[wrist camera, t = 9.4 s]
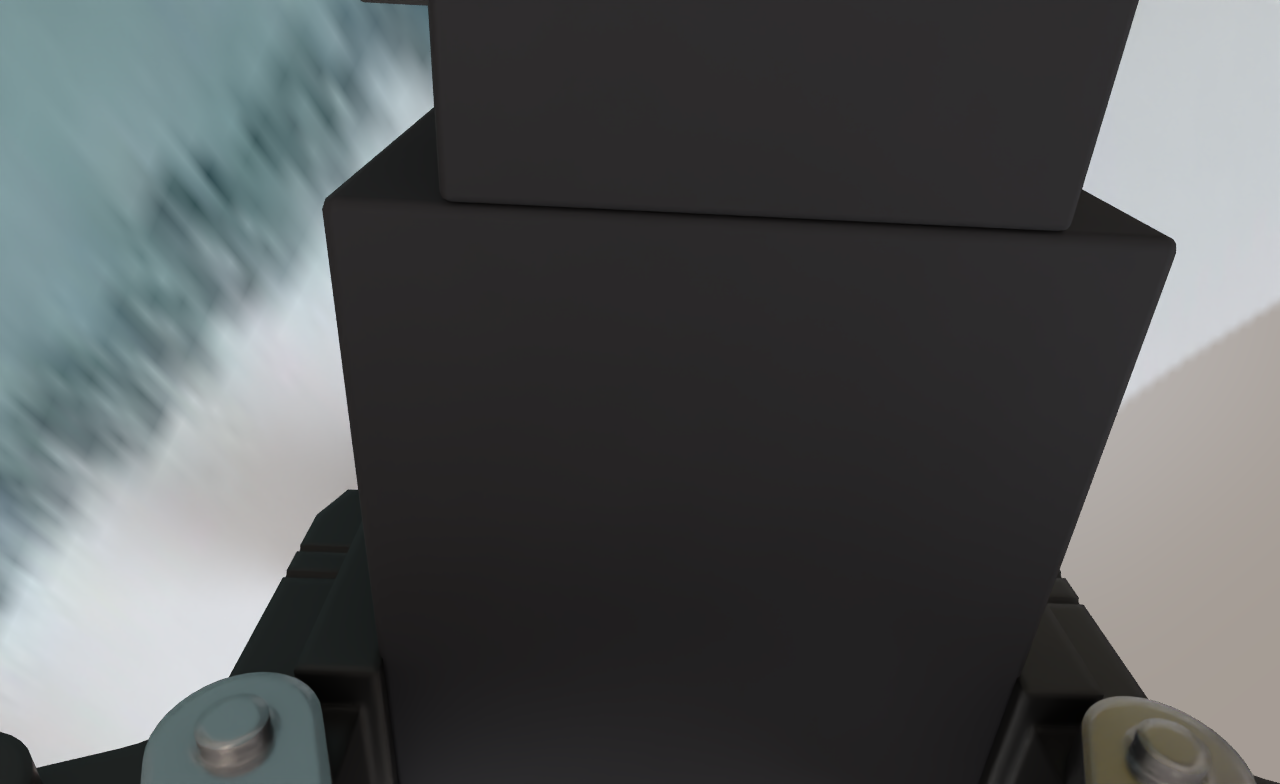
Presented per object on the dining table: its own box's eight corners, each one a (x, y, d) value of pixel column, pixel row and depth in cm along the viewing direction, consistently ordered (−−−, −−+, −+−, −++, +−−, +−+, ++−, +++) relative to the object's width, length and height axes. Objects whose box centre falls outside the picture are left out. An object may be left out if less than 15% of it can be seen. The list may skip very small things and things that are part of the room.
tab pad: (1036, -188, 8) (1387, -296, 4) (820, 759, 14) (888, 1045, 10) (424, -227, 7) (239, -378, 4) (479, 750, 13) (425, 1039, 10)
